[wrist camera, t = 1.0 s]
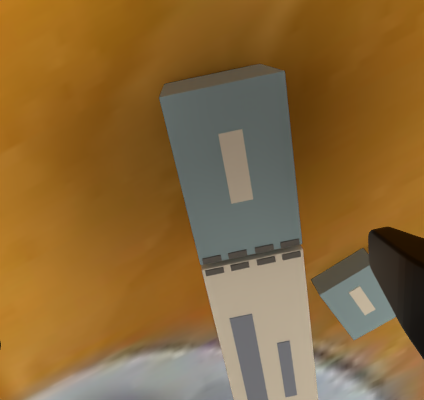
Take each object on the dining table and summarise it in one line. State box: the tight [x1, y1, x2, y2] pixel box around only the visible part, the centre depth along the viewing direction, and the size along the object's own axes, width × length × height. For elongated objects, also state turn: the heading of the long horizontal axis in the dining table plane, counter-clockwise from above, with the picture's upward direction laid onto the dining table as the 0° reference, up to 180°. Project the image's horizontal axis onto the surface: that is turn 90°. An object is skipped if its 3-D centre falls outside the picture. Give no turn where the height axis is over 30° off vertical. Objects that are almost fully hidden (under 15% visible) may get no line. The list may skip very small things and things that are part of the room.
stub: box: [159, 64, 302, 265], centre depth 18 cm, size 8×5×5 cm, turn 11°
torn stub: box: [311, 248, 396, 340], centre depth 24 cm, size 5×4×2 cm
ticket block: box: [201, 245, 318, 400], centre depth 22 cm, size 11×5×5 cm, turn 11°
